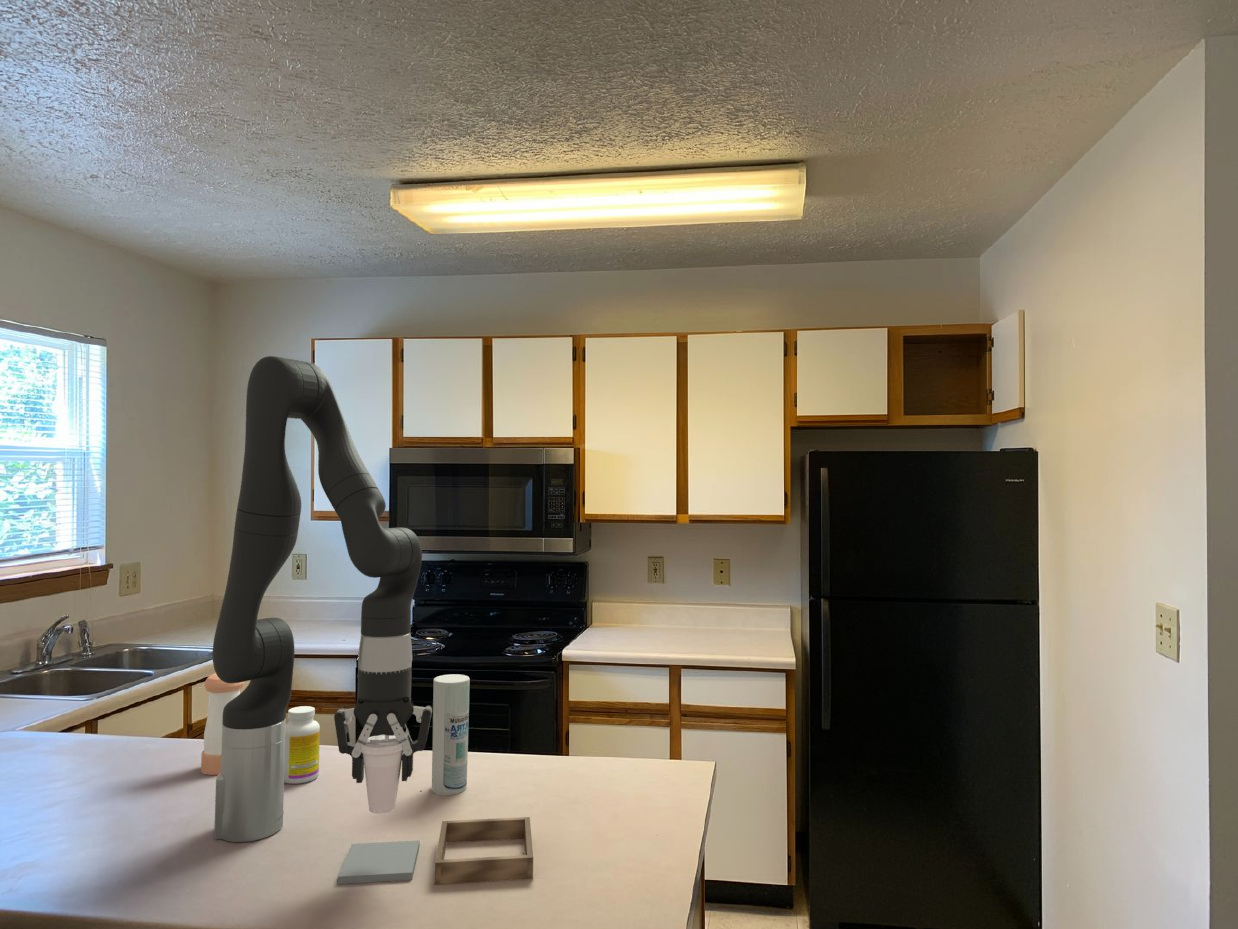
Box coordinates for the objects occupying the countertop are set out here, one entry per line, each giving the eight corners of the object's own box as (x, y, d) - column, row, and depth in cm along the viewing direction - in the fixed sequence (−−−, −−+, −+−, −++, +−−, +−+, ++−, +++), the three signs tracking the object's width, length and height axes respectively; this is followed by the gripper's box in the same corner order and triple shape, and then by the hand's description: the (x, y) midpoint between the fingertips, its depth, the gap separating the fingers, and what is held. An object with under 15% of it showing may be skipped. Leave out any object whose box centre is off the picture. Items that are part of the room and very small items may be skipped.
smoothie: (391, 819, 110) (393, 719, 110) (350, 815, 111) (352, 716, 111) (412, 801, 116) (414, 706, 116) (373, 797, 117) (375, 704, 118)
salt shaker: (231, 775, 147) (234, 673, 147) (193, 775, 147) (196, 672, 147) (250, 762, 154) (253, 664, 154) (213, 761, 154) (216, 664, 155)
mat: (337, 884, 107) (338, 876, 108) (351, 850, 117) (351, 843, 117) (412, 879, 109) (412, 872, 109) (419, 847, 119) (419, 840, 119)
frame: (434, 884, 108) (434, 863, 108) (441, 840, 121) (442, 821, 121) (532, 879, 110) (533, 857, 110) (529, 836, 123) (529, 817, 123)
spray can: (450, 779, 147) (452, 672, 147) (474, 787, 143) (477, 677, 143) (423, 789, 141) (426, 679, 142) (448, 798, 138) (450, 684, 138)
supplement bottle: (326, 777, 147) (328, 708, 147) (295, 788, 141) (297, 716, 142) (304, 769, 150) (306, 702, 151) (272, 780, 145) (274, 710, 145)
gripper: (328, 671, 109) (325, 792, 109) (433, 669, 111) (430, 788, 111) (339, 659, 117) (336, 773, 116) (437, 657, 119) (435, 769, 118)
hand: (382, 780), depth 114 cm, fingers closed on smoothie, 5 cm apart
